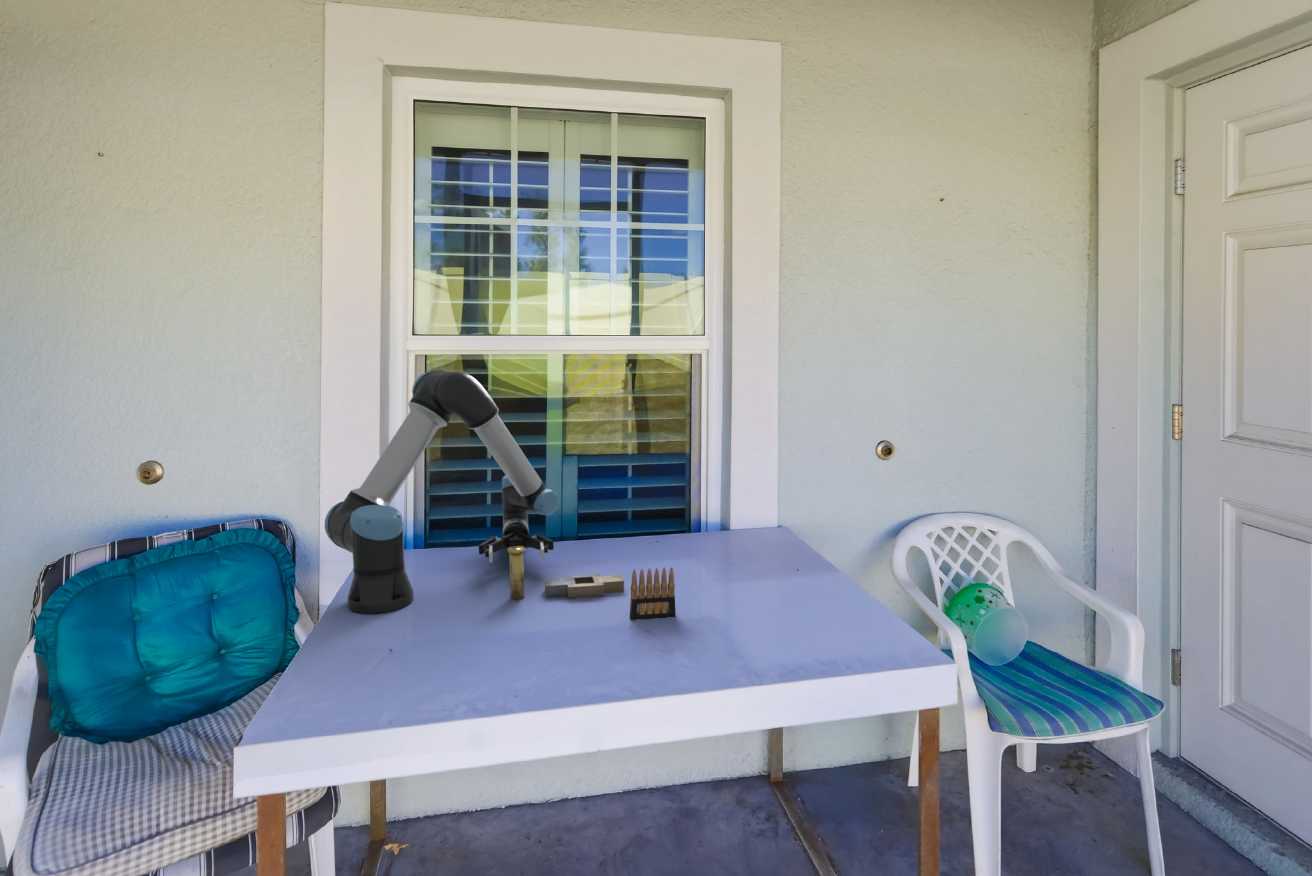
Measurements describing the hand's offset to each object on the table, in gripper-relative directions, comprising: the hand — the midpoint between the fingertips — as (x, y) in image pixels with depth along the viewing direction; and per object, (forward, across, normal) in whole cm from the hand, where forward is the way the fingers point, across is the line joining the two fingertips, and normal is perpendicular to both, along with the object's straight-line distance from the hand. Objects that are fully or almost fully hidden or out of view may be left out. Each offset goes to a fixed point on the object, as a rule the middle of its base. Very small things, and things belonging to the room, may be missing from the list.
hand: (516, 556), depth 185 cm
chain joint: (+9, -17, -8) cm, 21 cm away
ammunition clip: (+29, -31, -8) cm, 43 cm away
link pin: (+10, 0, -8) cm, 12 cm away
